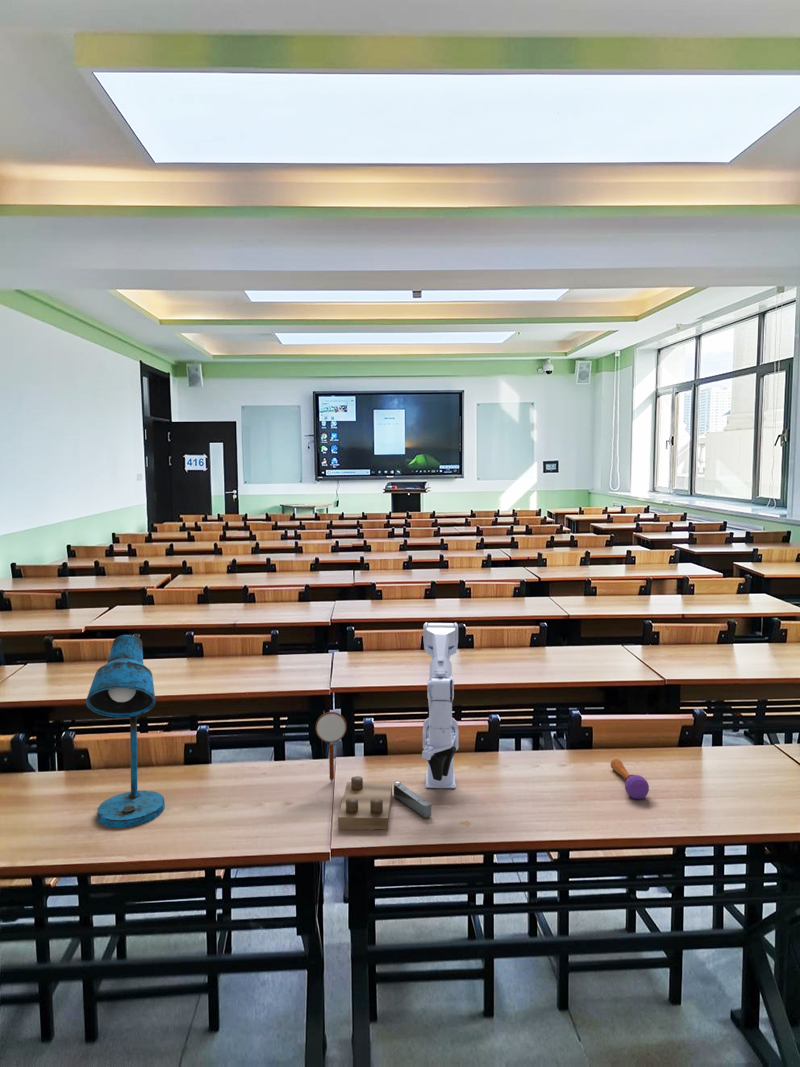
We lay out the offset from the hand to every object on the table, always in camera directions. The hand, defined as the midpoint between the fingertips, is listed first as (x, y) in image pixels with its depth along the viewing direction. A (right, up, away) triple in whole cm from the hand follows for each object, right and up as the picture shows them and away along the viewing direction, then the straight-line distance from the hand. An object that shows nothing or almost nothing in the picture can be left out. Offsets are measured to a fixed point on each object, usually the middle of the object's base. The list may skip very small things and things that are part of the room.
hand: (440, 777), depth 176 cm
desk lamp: (-78, -9, -2) cm, 78 cm away
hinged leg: (-7, -8, +2) cm, 11 cm away
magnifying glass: (-29, -7, +16) cm, 34 cm away
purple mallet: (+52, -7, +14) cm, 54 cm away
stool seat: (-19, -9, 0) cm, 21 cm away
